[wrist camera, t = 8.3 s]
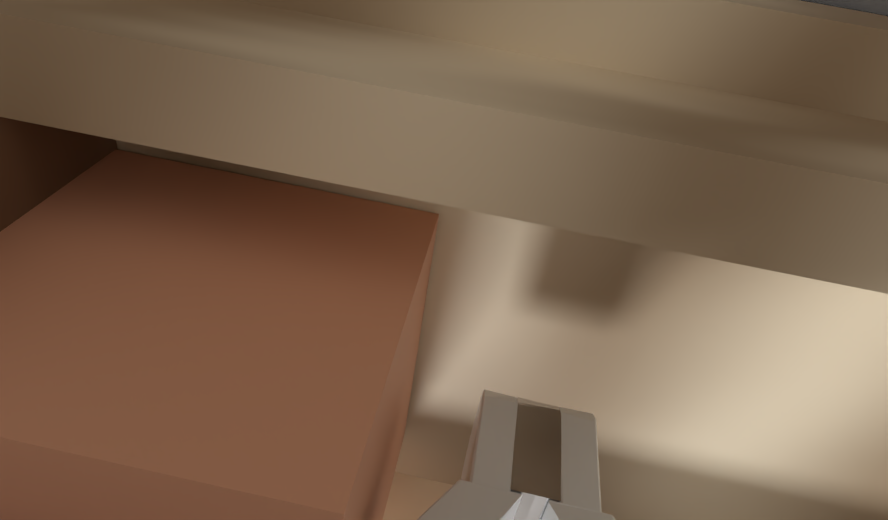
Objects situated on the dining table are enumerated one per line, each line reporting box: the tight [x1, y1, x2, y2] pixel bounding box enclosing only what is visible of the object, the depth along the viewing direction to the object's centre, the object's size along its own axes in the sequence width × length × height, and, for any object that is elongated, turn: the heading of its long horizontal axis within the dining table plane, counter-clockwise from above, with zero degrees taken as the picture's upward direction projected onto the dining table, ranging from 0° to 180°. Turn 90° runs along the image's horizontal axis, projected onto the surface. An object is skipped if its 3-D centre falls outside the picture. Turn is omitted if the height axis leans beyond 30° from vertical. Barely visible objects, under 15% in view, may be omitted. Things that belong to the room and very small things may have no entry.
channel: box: [0, 0, 888, 520], centre depth 9 cm, size 20×12×6 cm, turn 82°
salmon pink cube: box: [0, 149, 439, 520], centre depth 9 cm, size 5×5×5 cm
